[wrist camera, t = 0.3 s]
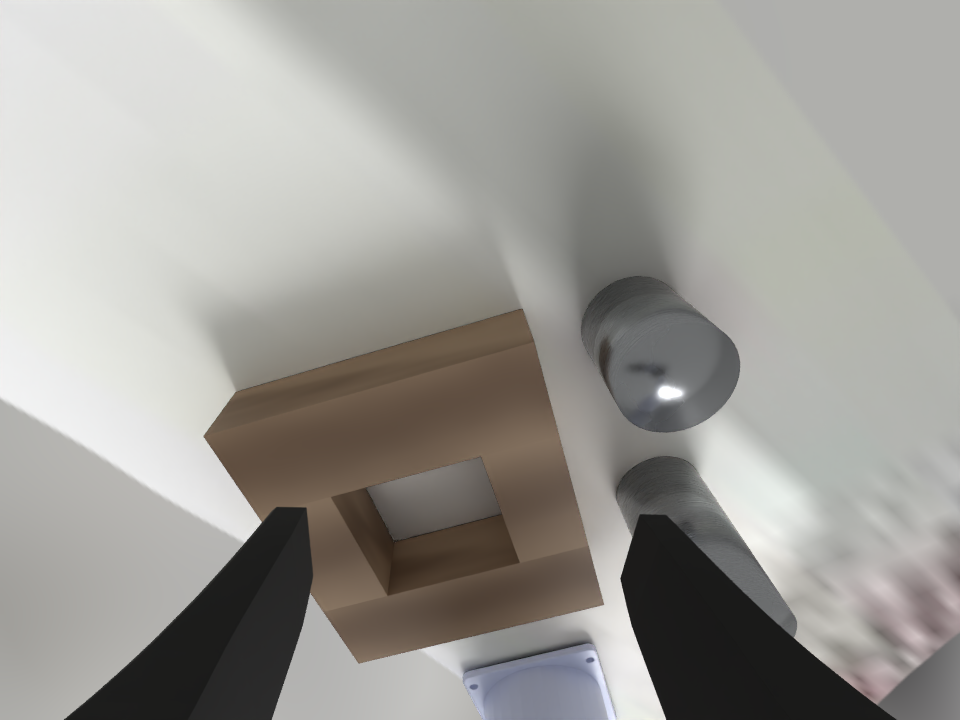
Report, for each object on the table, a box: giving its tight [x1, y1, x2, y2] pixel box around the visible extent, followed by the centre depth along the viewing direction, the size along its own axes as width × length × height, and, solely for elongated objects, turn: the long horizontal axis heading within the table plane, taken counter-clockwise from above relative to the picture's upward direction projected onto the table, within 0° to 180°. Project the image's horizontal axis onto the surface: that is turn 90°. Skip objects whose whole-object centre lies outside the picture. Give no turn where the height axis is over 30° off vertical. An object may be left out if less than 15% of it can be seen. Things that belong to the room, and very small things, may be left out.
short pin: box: [581, 276, 740, 432], centre depth 18 cm, size 4×4×4 cm
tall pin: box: [616, 457, 797, 638], centre depth 21 cm, size 4×4×8 cm
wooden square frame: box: [204, 309, 604, 663], centre depth 22 cm, size 14×12×3 cm
